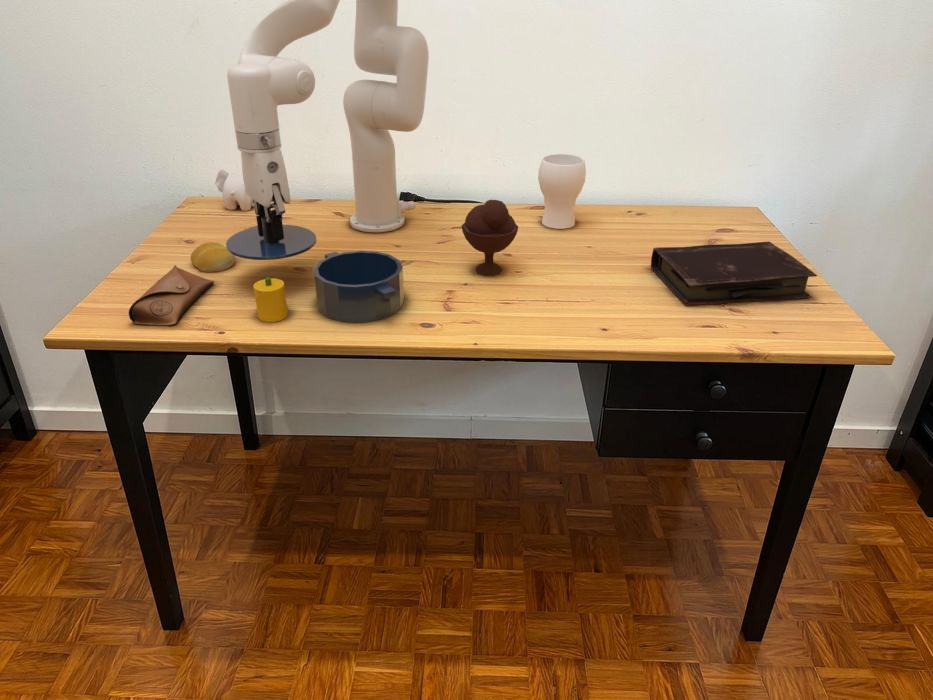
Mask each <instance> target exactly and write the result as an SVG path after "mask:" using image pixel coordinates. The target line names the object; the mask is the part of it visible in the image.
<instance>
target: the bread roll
mask: <svg viewBox="0 0 933 700" xmlns="http://www.w3.org/2000/svg"><path fill="white" fill-rule="evenodd" d="M190 261H191V263H192V265H194V267H196V268H197V269H198V270H199V271H201V272H207V273H209V272H220V271H223V270H227V269H229V268H230V267H232V266H233V265H234V264H235V263H236V256H235V255H233V254H231V253H230V252H229V251H228V250H227V248H226V245H224V244H222V243H219V242H213V241H211V242H204V243H201V244H200V245H198V246H197V247H195V249H194V250H193V251H192V252H191V254H190Z"/></svg>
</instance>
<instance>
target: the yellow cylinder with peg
mask: <svg viewBox="0 0 933 700" xmlns="http://www.w3.org/2000/svg"><path fill="white" fill-rule="evenodd" d="M252 286H253V293H254V301H255V306H256V312H257V313H256V314H257V318H258V319H259V321H261V322H265V323H275V322H280V321H282V320H285V319H286V318H287V317H288V315H289V310H288V303H287V295H286V287H285V282H284V280H282V279H279V278H271V276H270V277H269V276H267V277H265V278H264V279H260V280H258V281H256V282H254V284H253V285H252Z"/></svg>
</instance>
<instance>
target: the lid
mask: <svg viewBox="0 0 933 700" xmlns="http://www.w3.org/2000/svg"><path fill="white" fill-rule="evenodd" d="M265 221H266V216H265V215H264V216H262V217H261V222H262V229H263V237H261V236H259V233H258V226H253V227H250V228H246V229H243V230H240V231H238V232H236V233H234V234H232V235H231V236H229V238H227V240H226V242H225V247H226V248H227V250H228V251H229V252H230V253H231V254H233V255H235V257H237V258H240V259H244V260H245V259H246V260H254V261H272V260H273V261H274V260H281V259H287V258H292V257H296V256H298V255H302V254H304V253H306V252H308V251H310V250H311V249H313V248H314V246H315V245H316V243H317V235H316V233H314V231H312V230H310V229H309V228H306V227H305V226H304V227H303V226H300V225H295V224H282V225H283V233H284V239H283V240H279V241H275V242H271V243H269V242H268V241H267V237H266V230H265Z"/></svg>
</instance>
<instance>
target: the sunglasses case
mask: <svg viewBox="0 0 933 700" xmlns="http://www.w3.org/2000/svg"><path fill="white" fill-rule="evenodd" d="M214 283H215V281H214V280H209V279H207V278H205V277H201V276H200V275H197V274H195V273H192V272H190V271H187V270H184V269H183V268H180V267H177V265H176V264H175V265H174V266H173V267H172V268H171V269H170V270H169V271H168V272H167V273H166V274H164V275H163V276H162V277H161V278H159V280H157V281H156V282H155V283H154V284H153V285H151V287H149V288H148V290H146V291H145V292H144V293H143V294H142V295H141V296H140V297H139V298H138V299H136V300H135V301H134V302H133V303H132V304H131V306H130V307H129V309H128V318H129V319H130V321H131V322H132V323H133V324H134V325H142V326H148V327H149V326H150V327H152V326H153V327H163V326H164V327H165V326H166V327H167V326H173V325H176V324H177V323H178V322H179V321H180V318H182V316H183V315H184V314H185V313H186V311H187V310H189V308H190V307H191V306H192V305H193V304H194V303H195V302H196V301H197V300H198V299H199V298H201V297H202V296H203V294H204V293H205V292H206V291H207V290H208V289H209V288H210V287H211V286H212V285H213V284H214Z"/></svg>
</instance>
